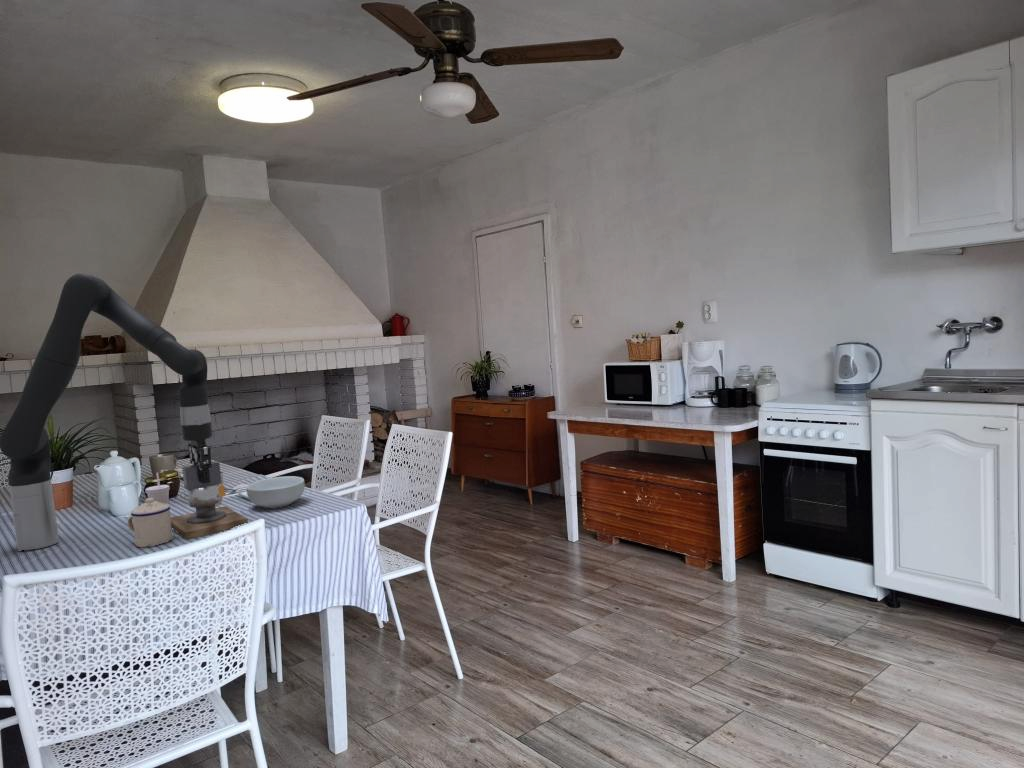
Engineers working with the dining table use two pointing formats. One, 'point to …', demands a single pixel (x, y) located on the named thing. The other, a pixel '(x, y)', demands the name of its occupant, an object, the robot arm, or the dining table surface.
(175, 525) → the lock base
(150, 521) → the teacup with lid
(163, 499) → the smoothie
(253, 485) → the cereal bowl
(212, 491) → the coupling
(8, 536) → the dining table surface
